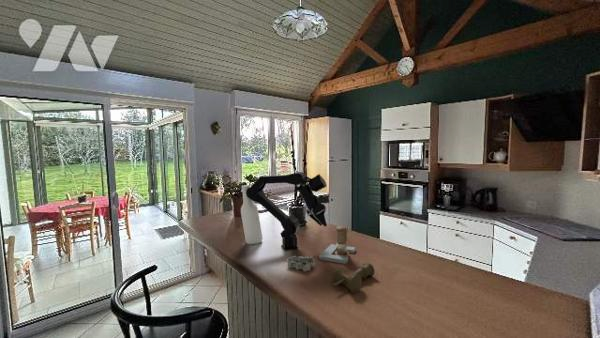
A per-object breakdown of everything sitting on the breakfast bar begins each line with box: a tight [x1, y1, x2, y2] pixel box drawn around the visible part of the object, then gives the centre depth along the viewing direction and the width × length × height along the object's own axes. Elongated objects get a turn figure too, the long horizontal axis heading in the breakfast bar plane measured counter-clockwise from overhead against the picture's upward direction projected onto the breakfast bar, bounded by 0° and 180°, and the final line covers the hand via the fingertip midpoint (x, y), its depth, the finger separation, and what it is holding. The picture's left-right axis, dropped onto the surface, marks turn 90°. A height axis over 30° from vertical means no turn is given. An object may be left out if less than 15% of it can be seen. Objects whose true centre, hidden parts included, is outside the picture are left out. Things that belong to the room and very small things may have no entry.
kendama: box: [331, 262, 375, 294], centre depth 96 cm, size 6×10×20 cm
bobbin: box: [334, 225, 350, 258], centre depth 121 cm, size 6×6×13 cm
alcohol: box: [240, 184, 263, 245], centre depth 140 cm, size 9×9×30 cm
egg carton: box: [286, 255, 316, 272], centre depth 111 cm, size 11×8×4 cm
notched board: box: [318, 243, 356, 265], centre depth 122 cm, size 12×16×2 cm
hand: (323, 225), depth 127 cm, fingers open, 9 cm apart
